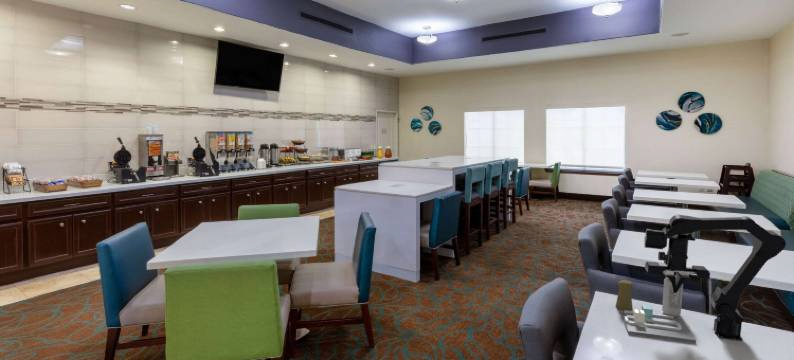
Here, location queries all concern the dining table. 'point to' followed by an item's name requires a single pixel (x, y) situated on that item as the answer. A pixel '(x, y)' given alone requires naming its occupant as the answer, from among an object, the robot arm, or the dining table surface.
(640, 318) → the fader cap
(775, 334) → the dining table surface
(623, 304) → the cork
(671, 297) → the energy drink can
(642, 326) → the console board
